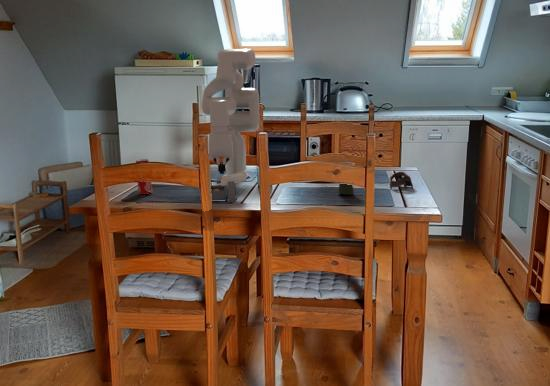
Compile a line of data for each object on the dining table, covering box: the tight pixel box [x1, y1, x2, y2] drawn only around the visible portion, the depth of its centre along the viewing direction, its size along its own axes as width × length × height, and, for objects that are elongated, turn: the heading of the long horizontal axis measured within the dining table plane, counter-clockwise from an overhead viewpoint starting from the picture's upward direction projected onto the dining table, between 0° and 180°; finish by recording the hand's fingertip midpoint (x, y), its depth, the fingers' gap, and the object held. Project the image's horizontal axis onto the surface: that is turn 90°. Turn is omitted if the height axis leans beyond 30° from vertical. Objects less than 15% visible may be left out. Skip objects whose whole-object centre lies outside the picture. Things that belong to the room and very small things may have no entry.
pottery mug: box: [389, 171, 414, 190], centre depth 252 cm, size 12×9×8 cm
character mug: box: [338, 161, 356, 196], centre depth 241 cm, size 11×7×13 cm, turn 172°
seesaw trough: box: [216, 168, 249, 186], centre depth 241 cm, size 13×13×3 cm
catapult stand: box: [226, 181, 239, 203], centre depth 239 cm, size 14×4×8 cm, turn 1°
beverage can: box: [135, 158, 153, 195], centre depth 250 cm, size 6×6×15 cm
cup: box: [211, 180, 228, 200], centre depth 239 cm, size 9×7×8 cm
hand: (222, 173), depth 245 cm, fingers closed
